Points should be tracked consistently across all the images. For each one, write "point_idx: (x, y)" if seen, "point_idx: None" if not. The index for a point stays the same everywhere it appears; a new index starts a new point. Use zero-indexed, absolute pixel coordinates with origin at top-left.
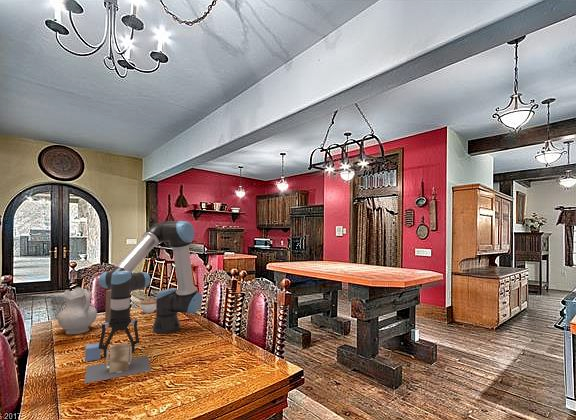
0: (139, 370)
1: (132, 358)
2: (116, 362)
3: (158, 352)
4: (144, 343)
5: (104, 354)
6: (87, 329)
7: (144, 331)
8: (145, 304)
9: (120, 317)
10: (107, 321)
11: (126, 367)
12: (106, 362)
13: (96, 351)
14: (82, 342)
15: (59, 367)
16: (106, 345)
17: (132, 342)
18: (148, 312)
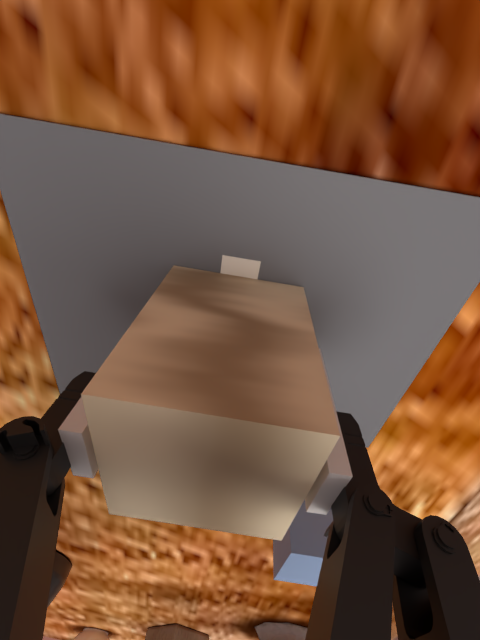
0: (91, 194)
1: None
2: (255, 317)
3: (10, 411)
4: (93, 510)
5: (353, 438)
6: (261, 630)
7: (100, 571)
8: None
9: None
10: (203, 637)
11: (182, 275)
12: (323, 367)
13: (310, 527)
14: (295, 591)
15: (455, 494)
16: (371, 547)
17: (17, 477)
18: (94, 632)
